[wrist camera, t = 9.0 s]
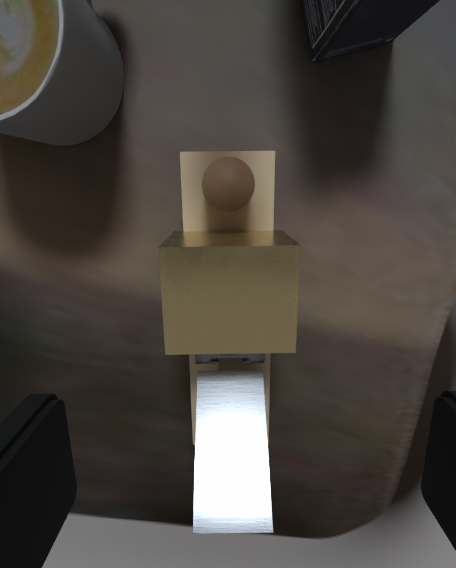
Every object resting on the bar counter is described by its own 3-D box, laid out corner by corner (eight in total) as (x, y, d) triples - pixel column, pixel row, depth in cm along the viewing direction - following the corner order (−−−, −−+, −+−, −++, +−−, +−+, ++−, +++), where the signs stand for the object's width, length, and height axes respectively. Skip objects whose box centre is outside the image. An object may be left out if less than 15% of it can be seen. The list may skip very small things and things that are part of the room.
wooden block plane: (197, 407, 33) (189, 474, 26) (187, 157, 27) (173, 147, 20) (262, 406, 33) (273, 473, 26) (266, 156, 27) (282, 146, 20)
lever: (196, 347, 26) (191, 531, 21) (195, 340, 25) (188, 533, 19) (262, 346, 26) (274, 529, 21) (264, 339, 25) (276, 532, 20)
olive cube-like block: (178, 315, 26) (165, 354, 20) (174, 231, 24) (158, 247, 18) (279, 314, 26) (295, 352, 20) (282, 230, 24) (300, 245, 18)
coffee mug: (59, 173, 28) (-30, 169, 18) (-45, 62, 26) (-209, -10, 16) (188, 46, 25) (165, -38, 16) (85, -88, 23) (-13, -279, 14)
